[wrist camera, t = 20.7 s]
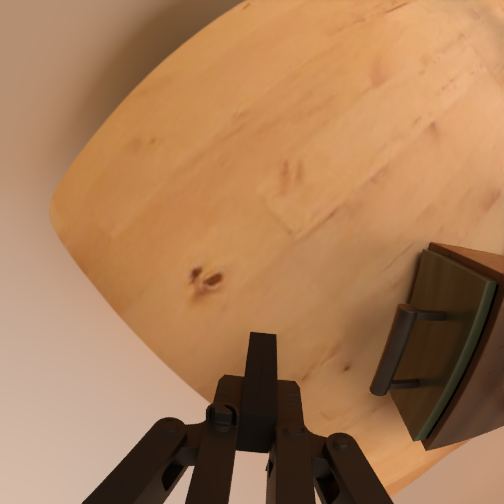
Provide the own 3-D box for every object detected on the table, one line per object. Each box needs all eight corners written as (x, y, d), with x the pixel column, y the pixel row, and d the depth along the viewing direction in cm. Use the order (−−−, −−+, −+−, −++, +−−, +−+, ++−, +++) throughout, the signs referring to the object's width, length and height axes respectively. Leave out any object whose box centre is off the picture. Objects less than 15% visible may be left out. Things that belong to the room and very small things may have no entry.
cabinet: (388, 379, 25) (425, 451, 14) (430, 241, 21) (509, 276, 11) (483, 369, 24) (525, 415, 14) (521, 259, 21) (582, 287, 11)
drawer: (344, 380, 24) (365, 448, 15) (380, 242, 21) (437, 275, 12) (478, 370, 23) (514, 411, 15) (515, 264, 20) (568, 289, 12)
